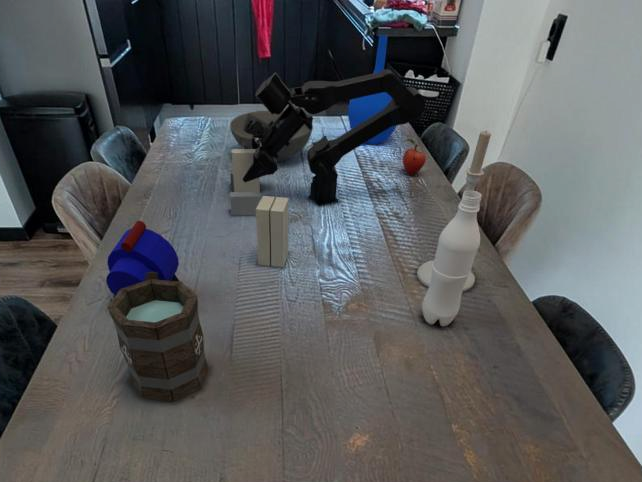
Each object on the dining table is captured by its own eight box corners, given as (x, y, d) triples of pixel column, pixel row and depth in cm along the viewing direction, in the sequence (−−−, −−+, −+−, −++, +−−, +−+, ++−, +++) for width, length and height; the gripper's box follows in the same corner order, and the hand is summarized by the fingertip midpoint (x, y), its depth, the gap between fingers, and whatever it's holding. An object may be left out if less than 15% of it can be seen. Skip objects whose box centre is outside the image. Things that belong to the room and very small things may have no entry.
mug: (214, 394, 80) (203, 321, 69) (131, 408, 78) (106, 334, 67) (199, 326, 93) (188, 256, 82) (128, 336, 90) (107, 264, 80)
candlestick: (406, 268, 110) (436, 123, 88) (451, 258, 114) (491, 116, 92) (438, 297, 102) (480, 145, 80) (486, 286, 106) (538, 137, 84)
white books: (264, 250, 114) (262, 195, 105) (288, 252, 114) (288, 198, 104) (258, 264, 110) (255, 209, 100) (283, 267, 109) (283, 211, 100)
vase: (368, 128, 180) (380, 28, 159) (406, 141, 171) (424, 37, 150) (335, 138, 172) (342, 34, 150) (373, 152, 163) (386, 43, 141)
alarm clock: (186, 287, 102) (174, 219, 92) (162, 319, 94) (146, 249, 83) (133, 279, 104) (116, 211, 93) (106, 310, 96) (83, 240, 85)
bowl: (325, 153, 161) (327, 120, 153) (282, 178, 145) (282, 142, 138) (262, 137, 170) (261, 105, 163) (215, 159, 155) (212, 125, 147)
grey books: (258, 183, 142) (257, 165, 138) (261, 215, 127) (260, 196, 124) (231, 183, 141) (230, 166, 138) (231, 215, 127) (230, 196, 123)
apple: (416, 168, 153) (422, 134, 146) (426, 176, 149) (433, 141, 142) (394, 170, 152) (400, 136, 144) (404, 178, 147) (410, 143, 140)
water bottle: (415, 309, 99) (445, 185, 81) (448, 308, 99) (485, 185, 81) (424, 330, 94) (458, 203, 76) (459, 329, 95) (501, 203, 76)
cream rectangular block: (259, 198, 135) (258, 148, 125) (260, 202, 133) (258, 152, 123) (235, 199, 134) (231, 149, 125) (235, 203, 132) (231, 152, 123)
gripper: (260, 92, 123) (220, 139, 130) (263, 114, 110) (219, 164, 117) (289, 126, 129) (251, 169, 136) (296, 150, 116) (252, 196, 123)
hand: (243, 174), depth 128 cm, fingers open, 9 cm apart
